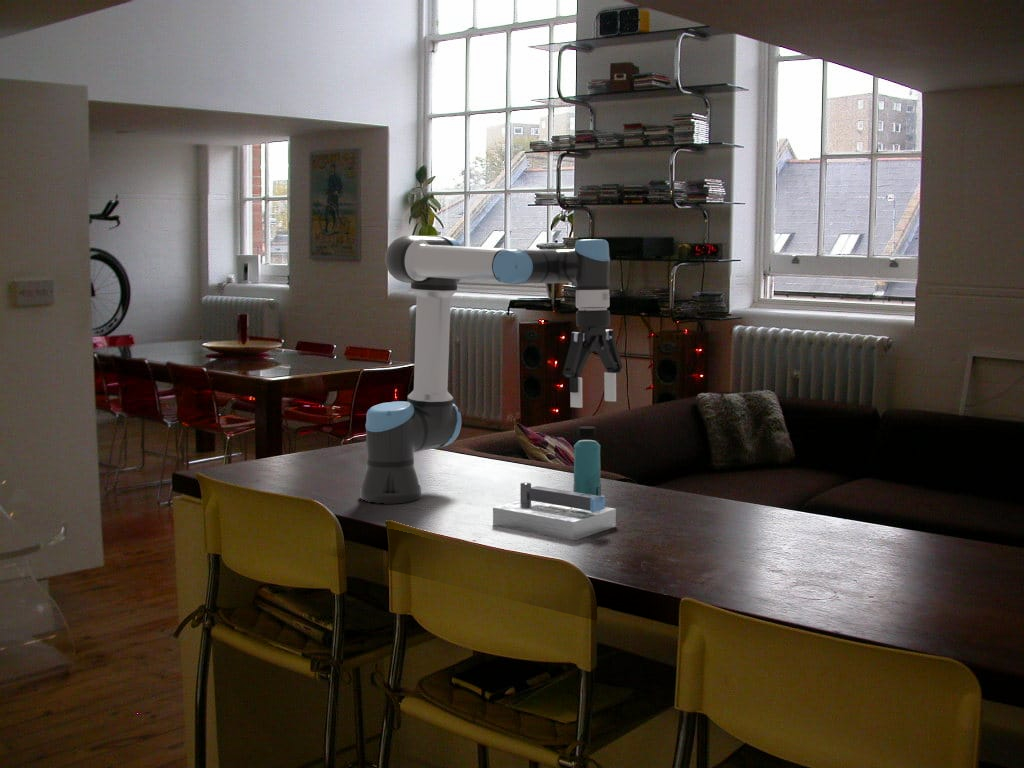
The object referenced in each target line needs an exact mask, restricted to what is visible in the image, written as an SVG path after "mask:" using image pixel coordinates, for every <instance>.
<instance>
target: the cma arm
mask: <svg viewBox="0 0 1024 768" xmlns="http://www.w3.org/2000/svg"><path fill="white" fill-rule="evenodd" d="M530 500H531V501H536V502H542V503H548V504H554V505H560V506H566V507H572V508H577V509H583V510H589V511H590V512H596V511H599V510H602V509H605V507H606V496H605V495H601V496H596V495H590V494H584V493H578V492H574V491H570V490H565V489H558V488H552V487H545V486H539V485H536V486H531V488H530Z"/></svg>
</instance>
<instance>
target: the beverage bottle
mask: <svg viewBox="0 0 1024 768" xmlns="http://www.w3.org/2000/svg"><path fill="white" fill-rule="evenodd" d="M596 432H597V430H596V426H588V425H587V426H585V425H583V426H579V427H578V434H577V436H578V437H583V438H592V437H597V436H596V435H597V433H596ZM573 450H574V451H573V491H572V492H578V493H584V494H590V495H596V496H602V495H601V494H602V490H601V489H602V485H601V482H602V480H601V469H602V467H601V444H600V443H599V442H598V441H597V440H592V439H581V440H578V441H577V442H575V444H574V445H573Z"/></svg>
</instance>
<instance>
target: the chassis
mask: <svg viewBox="0 0 1024 768" xmlns="http://www.w3.org/2000/svg"><path fill="white" fill-rule="evenodd" d="M519 486H520V491H519V492H520V496H519V497H520V499H518V500H515V501H512V502H508V503H505V504H501V505H497V506H494V507H492V525H493V526H495V527H500V528H505V529H511V530H517V531H520V532H521V531H522V532H527V533H532V534H535V535H536V534H537V535H543V536H547V537H552V538H558V539H563V540H568V541H572V542H573V541H574V542H575V541H577V540H579V539H582V538H586V537H589V536H591V535H594V534H598V533H600V532H604V531H607V530H609V529H613V528H617V527H616V526H617V525H616V524H617V523H616V522H617V521H616V519H617V518H616V514H617V513H616V512H617V509H616V508H613V507H608V506H607V507H606V506H605V509H602V510H599V511H596V512H590V511H589V510H583V509H577V508H572V507H566V506H560V505H554V504H548V503H542V502H536V501H531V500H530V488H532V483H531V482H520V485H519Z"/></svg>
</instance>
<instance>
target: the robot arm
mask: <svg viewBox="0 0 1024 768" xmlns="http://www.w3.org/2000/svg"><path fill="white" fill-rule="evenodd" d="M574 246H575V247H574V248H573V249H531V248H530V249H529V248H528V249H527V248H523V249H522V248H503V247H502V248H500V247H479V246H477V247H476V246H462V245H461V244H460V242H459V241H458V240H457V239H455V238H453V237H450V236H441V235H403V236H400V237H398V238H396V239H395V240H393V241H392V242H391V243H390V244H389V245H388V248H387V249H386V252H385V256H384V260H385V261H384V263H385V267H386V269H387V272H388V273H389V275H391V277H393V278H394V279H395V280H397V281H399V282H401V283H406V284H410V290H411V291H412V292H413V294H414V295H415V296H416V304H415V305H416V308H415V337H414V338H415V339H414V340H415V342H414V343H415V344H414V367H413V368H414V373H413V377H414V378H413V390H412V391H411V392H410V393H409V394H408V395H407V401H401V400H400V401H399V400H397V401H390V402H382V403H379V404H376V405H373V406H371V407H370V408H369V409H367V412H366V421H365V436H366V437H365V438H366V439H365V441H366V444H365V445H366V469H365V473H364V477H363V481H362V486H361V485H360V486H361V487H360V489H359V499H360V498H361V499H363V500H365V501H364V502H366V501H369V502H368V503H370V502H375V503H374V504H380V503H384V504H385V505H388V504H389V505H391V504H404V503H411V502H414V501H418V500H420V499H421V498H422V488H421V487H422V486H421V485H420V484H419V479H418V475H417V473H416V469H415V462H414V461H415V459H414V458H415V455H414V453H416V452H422V451H425V450H427V451H429V450H432V449H433V450H437V449H441V448H443V447H446V446H449V445H451V444H452V443H454V441H455V440H457V438H458V436H459V435H460V431H461V429H462V428H461V427H462V415H461V412H460V411H459V408H458V406H457V405H456V404H455V403H454V397H453V395H452V394H451V393H450V392H449V390H448V384H449V382H448V381H449V359H450V357H449V356H450V354H449V352H450V331H451V330H450V329H451V328H450V327H451V325H450V324H451V302H452V301H451V300H452V296H454V295H455V294H456V293H457V292H458V283H459V282H460V281H461V280H465V281H480V282H495V283H502V284H507V285H520V284H522V285H523V284H550V285H551V284H552V285H553V284H559V283H560V284H564V283H567V284H568V283H574V284H575V307H576V309H578V310H577V311H576V312H575V323H576V326H577V328H580V331H579V332H578V331H577V332H576V331H572V332H571V334H570V344H569V348H568V351H567V355H566V359H565V362H564V367H563V370H562V374H563V376H564V377H565V378H568V379H569V393H570V401H569V402H570V406H569V407H570V408H577V409H579V408H580V409H582V408H583V405H584V404H583V377H581V375H582V372H583V370H584V367H585V366H586V363H587V361H588V359H589V356H590V354H592V353H593V352H596V353H597V355H598V356H599V359H600V360H601V363H602V365H603V366H604V368H605V372H603V375H604V376H603V379H604V381H603V383H604V401H605V402H617V374H618V373H619V374H620V373H621V371H622V369H623V363H622V360H621V359H622V358H621V356H620V352H619V349H618V346H617V342H616V339H615V330H614V329H606V328H608V327H610V326H611V311H610V310H609V309H608V308H610V304H611V303H610V302H611V301H610V297H611V296H610V263H611V257H610V247H609V242H608V241H607V240H606V239H602V238H600V239H598V238H597V239H596V238H594V239H591V238H589V239H587V238H586V239H577V240H576V241H575V245H574ZM361 499H360V500H361ZM363 500H362V501H363Z"/></svg>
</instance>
